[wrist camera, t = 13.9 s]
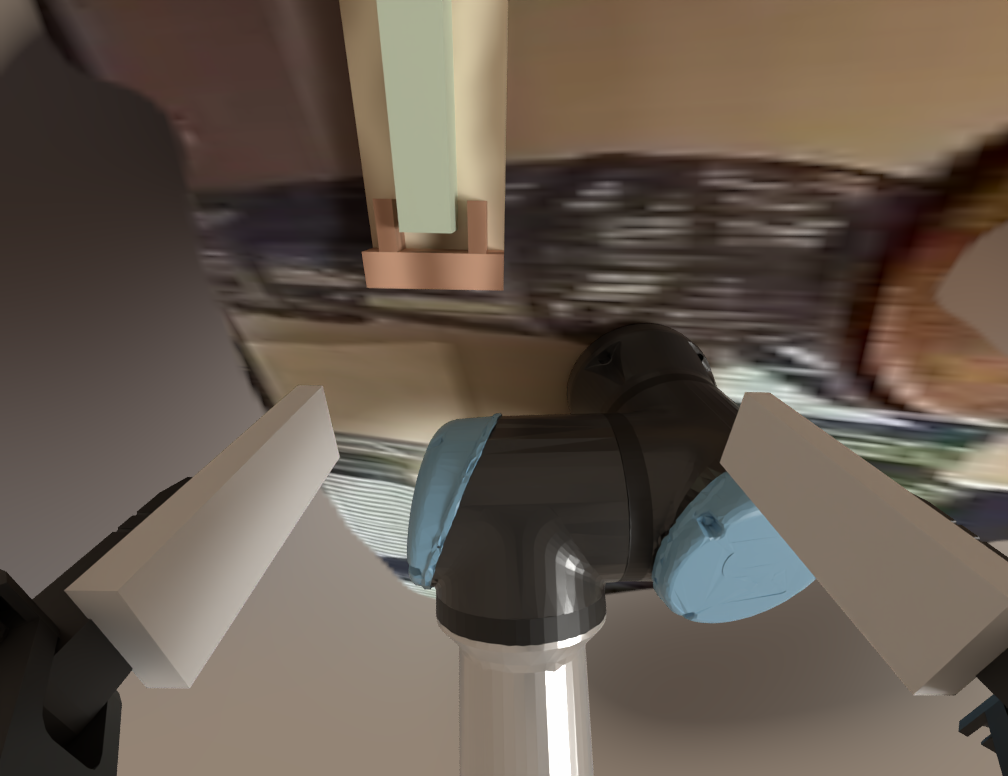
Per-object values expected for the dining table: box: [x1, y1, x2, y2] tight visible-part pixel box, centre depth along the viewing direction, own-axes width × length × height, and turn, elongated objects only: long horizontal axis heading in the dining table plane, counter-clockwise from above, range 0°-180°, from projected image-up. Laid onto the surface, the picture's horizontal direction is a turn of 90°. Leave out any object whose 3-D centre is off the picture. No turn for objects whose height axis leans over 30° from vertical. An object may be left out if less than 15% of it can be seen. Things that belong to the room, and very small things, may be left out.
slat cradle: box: [339, 0, 508, 290], centre depth 26 cm, size 12×33×4 cm, turn 179°
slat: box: [376, 0, 459, 233], centre depth 25 cm, size 4×24×5 cm, turn 179°
